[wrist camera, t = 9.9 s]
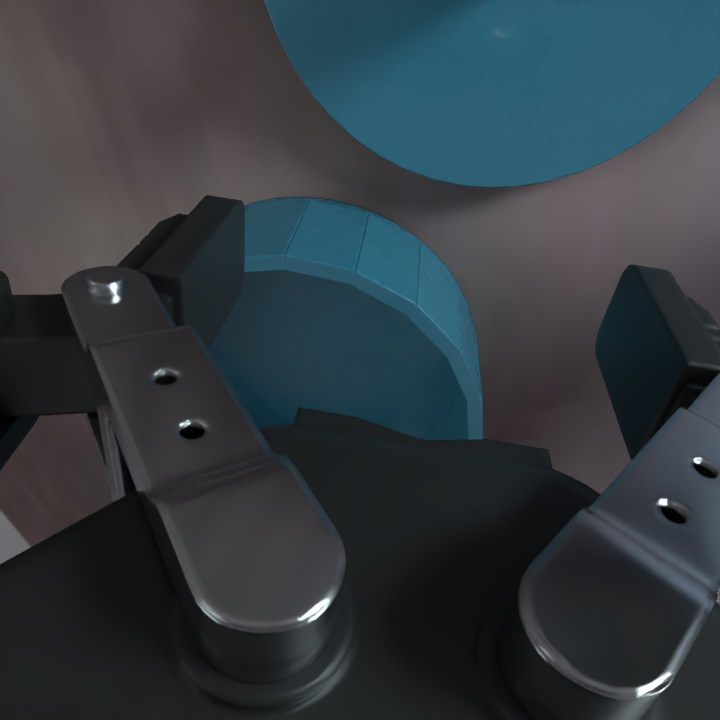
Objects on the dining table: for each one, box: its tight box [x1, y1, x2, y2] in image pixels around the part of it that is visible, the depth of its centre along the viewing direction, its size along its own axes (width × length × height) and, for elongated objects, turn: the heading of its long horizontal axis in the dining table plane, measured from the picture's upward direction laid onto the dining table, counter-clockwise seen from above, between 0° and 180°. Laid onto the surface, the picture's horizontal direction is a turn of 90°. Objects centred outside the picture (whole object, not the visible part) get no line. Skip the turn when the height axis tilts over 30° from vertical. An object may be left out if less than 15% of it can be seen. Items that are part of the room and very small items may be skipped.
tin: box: [209, 197, 483, 440], centre depth 27 cm, size 15×15×6 cm
